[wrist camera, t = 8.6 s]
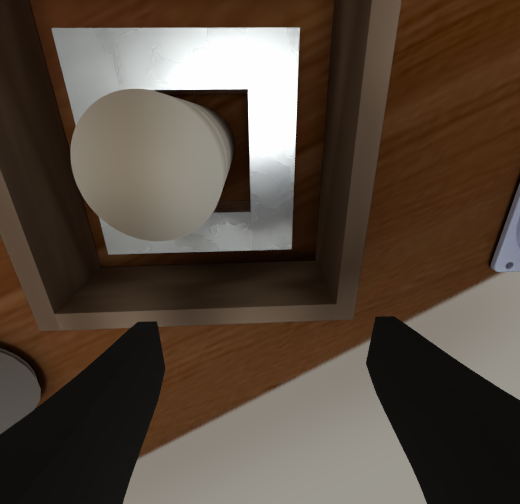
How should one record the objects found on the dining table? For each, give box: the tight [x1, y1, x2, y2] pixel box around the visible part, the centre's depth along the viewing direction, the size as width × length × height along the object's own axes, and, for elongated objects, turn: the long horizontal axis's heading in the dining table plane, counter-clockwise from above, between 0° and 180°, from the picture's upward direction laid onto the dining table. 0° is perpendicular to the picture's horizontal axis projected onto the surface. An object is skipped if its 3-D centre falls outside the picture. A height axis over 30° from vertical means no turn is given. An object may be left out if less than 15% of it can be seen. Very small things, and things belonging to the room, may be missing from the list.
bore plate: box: [51, 28, 300, 255], centre depth 15 cm, size 10×10×2 cm
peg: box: [71, 89, 235, 241], centre depth 12 cm, size 4×4×9 cm
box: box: [0, 0, 401, 331], centre depth 14 cm, size 16×16×5 cm
